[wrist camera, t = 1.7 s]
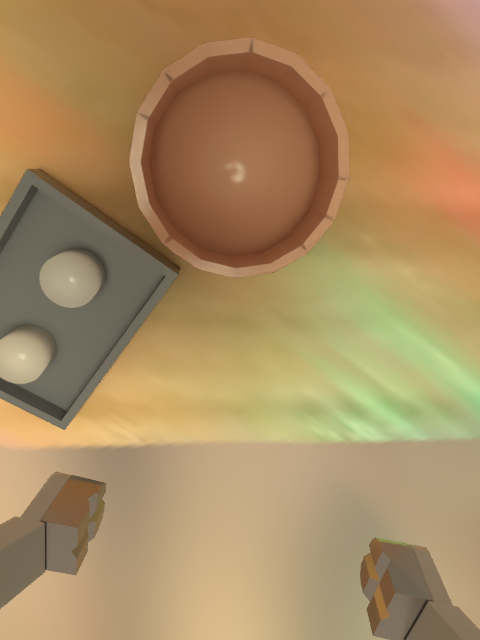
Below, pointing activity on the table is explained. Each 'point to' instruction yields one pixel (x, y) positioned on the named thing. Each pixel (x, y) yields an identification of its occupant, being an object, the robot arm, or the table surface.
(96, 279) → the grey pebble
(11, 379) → the sandstone pebble
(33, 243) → the parts tray
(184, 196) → the terracotta bowl
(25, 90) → the table surface
